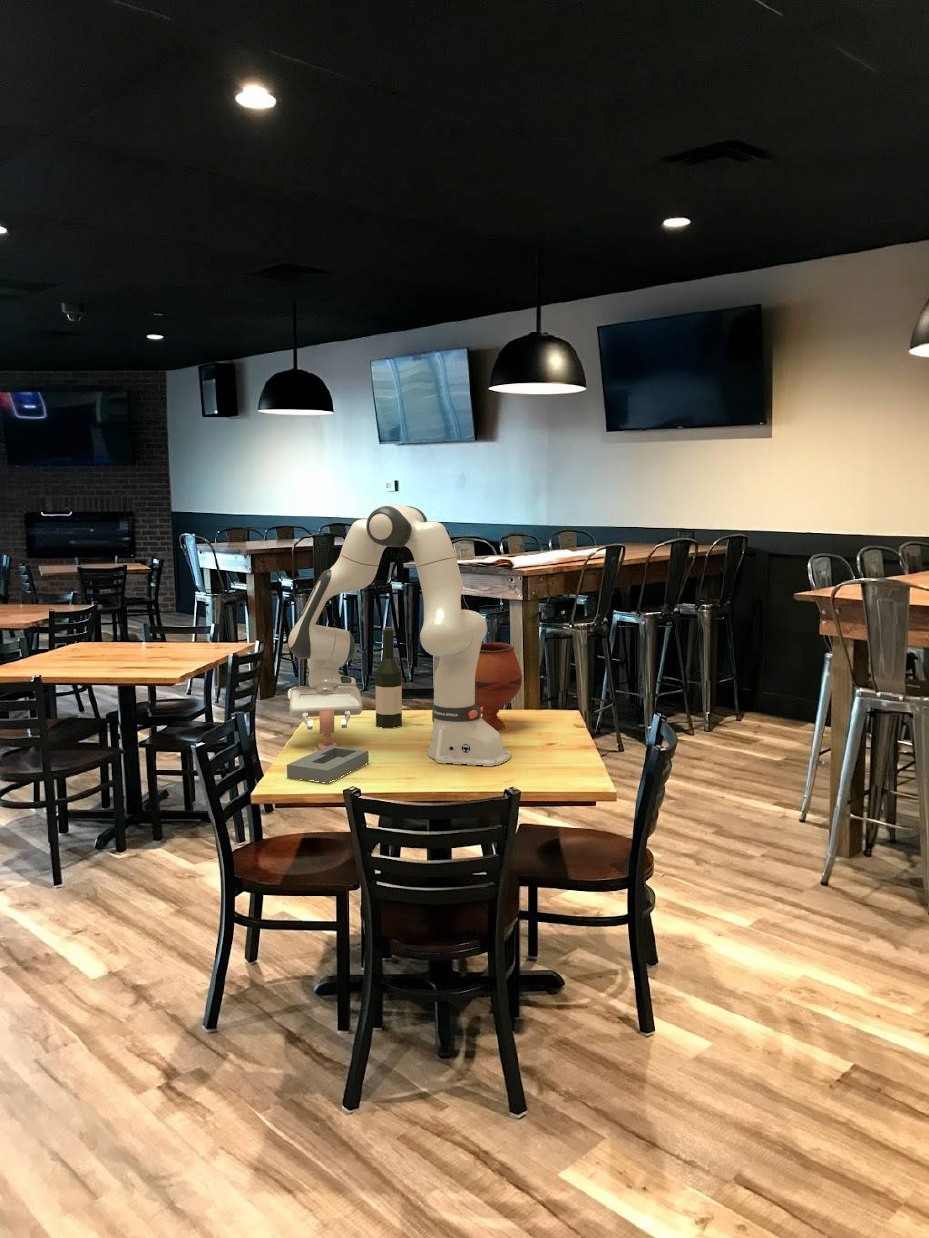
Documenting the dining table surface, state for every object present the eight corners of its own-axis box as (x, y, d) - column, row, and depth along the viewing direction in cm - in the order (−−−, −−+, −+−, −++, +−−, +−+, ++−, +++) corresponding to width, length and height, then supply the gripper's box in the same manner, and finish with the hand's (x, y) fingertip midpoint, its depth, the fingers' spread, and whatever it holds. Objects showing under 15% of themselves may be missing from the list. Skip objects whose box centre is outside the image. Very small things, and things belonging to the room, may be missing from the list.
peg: (339, 748, 280) (339, 709, 278) (330, 753, 275) (329, 713, 274) (324, 746, 282) (323, 708, 280) (314, 751, 277) (314, 711, 276)
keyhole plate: (329, 758, 270) (329, 745, 270) (368, 763, 265) (368, 750, 265) (287, 778, 252) (286, 764, 251) (328, 784, 247) (328, 770, 247)
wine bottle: (370, 726, 304) (369, 628, 300) (382, 720, 312) (381, 624, 308) (395, 729, 301) (394, 630, 297) (407, 723, 309) (406, 626, 305)
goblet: (447, 731, 299) (447, 648, 295) (472, 717, 316) (472, 639, 313) (508, 738, 291) (509, 653, 288) (530, 723, 309) (531, 643, 305)
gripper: (287, 680, 281) (288, 723, 272) (360, 678, 284) (364, 720, 276) (287, 693, 286) (288, 735, 277) (359, 690, 289) (363, 732, 281)
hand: (327, 727), depth 277 cm, fingers open, 8 cm apart
